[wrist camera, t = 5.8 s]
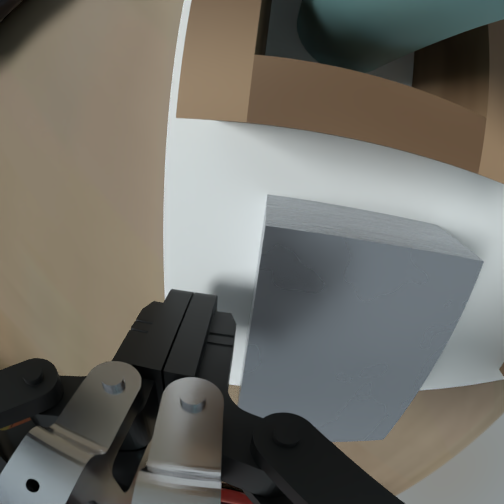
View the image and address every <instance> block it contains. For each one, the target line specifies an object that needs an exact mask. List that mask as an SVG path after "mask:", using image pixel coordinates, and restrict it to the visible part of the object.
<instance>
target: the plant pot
mask: <svg viewBox="0 0 504 504" xmlns="http://www.w3.org/2000/svg"><path fill="white" fill-rule="evenodd" d="M221 504H253V503H252V502H251V501H250V499H249V498H248V497H247V496H246V495H245V493H242V492H238V491H234V490H230V489H225V488H221Z"/></svg>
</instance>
